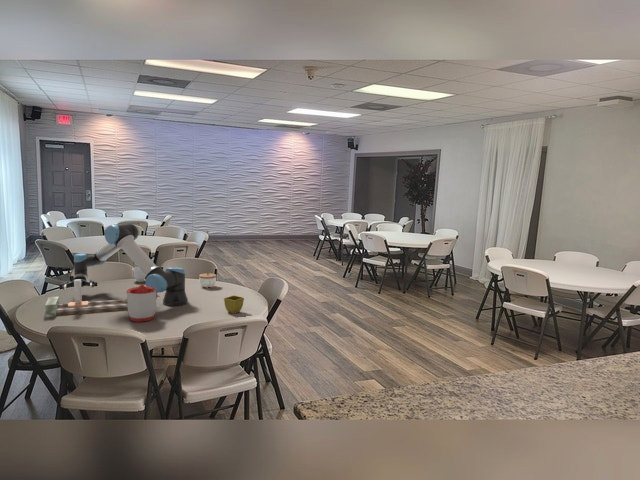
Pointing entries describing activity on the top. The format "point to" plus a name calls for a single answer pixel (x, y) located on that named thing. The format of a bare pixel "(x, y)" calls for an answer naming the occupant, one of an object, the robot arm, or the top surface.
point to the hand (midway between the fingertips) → (77, 288)
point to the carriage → (78, 296)
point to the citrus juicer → (141, 303)
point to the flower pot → (233, 303)
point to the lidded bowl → (207, 279)
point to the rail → (100, 306)
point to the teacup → (138, 274)
